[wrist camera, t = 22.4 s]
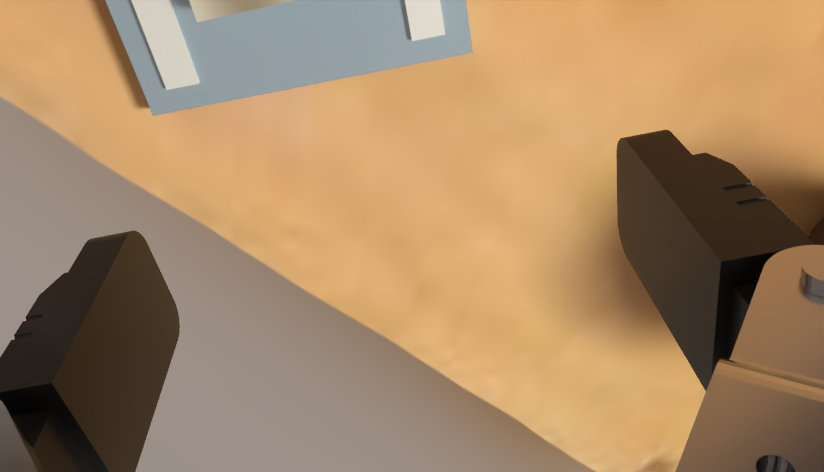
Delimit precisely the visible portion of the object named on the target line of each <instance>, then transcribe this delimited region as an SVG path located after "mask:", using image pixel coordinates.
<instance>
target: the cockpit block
mask: <svg viewBox="0 0 824 472" xmlns="http://www.w3.org/2000/svg"><path fill="white" fill-rule="evenodd" d="M289 1H294V0H189V2H190V4H191V7H192V10H193V13H194V15H195V18H196V21H197V22H201V21H206V20H210V19H215V18H219V17H223V16H228V15H232V14H236V13H241V12H245V11H250V10H254V9H258V8H263V7H267V6H272V5H276V4H280V3H285V2H289Z"/></svg>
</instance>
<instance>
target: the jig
mask: <svg viewBox="0 0 824 472" xmlns="http://www.w3.org/2000/svg"><path fill="white" fill-rule="evenodd" d="M105 1H106V3H107V6H108V8H109V10H110V13H111V15H112V18H113V20H114V23H115V25H116V27H117V30H118V32H119V35H120V37H121V39H122V42H123V44H124V47H125V49H126V51H127V54H128V56H129V59H130V61H131V64H132V66H133V68H134V71H135V73H136V76H137V78H138V80H139V83H140V85H141V88H142V90H143V93H144V95H145V97H146V100H147V102H148V105H149V107H150V109H151V112H152V114H153V116H155V115H160V114H165V113H170V112H175V111H180V110H185V109H190V108H195V107H200V106H205V105H210V104H215V103H220V102H225V101H230V100H236V99H241V98H246V97H251V96H256V95H261V94H266V93H271V92H276V91H281V90H286V89H291V88H296V87H301V86H306V85H311V84H316V83H321V82H326V81H332V80H337V79H342V78H347V77H352V76H357V75H362V74H367V73H372V72H377V71H382V70H387V69H392V68H397V67H402V66H407V65H412V64H417V63H422V62H428V61H433V60H438V59H443V58H448V57H453V56H458V55H463V54H468V53H473V50H472V43H471V35H470V28H469V20H468V12H467V5H466V0H294V1H289V2H285V3H280V4H276V5H272V6H267V7H263V8H258V9H254V10H250V11H245V12H241V13H236V14H232V15H228V16H223V17H219V18H215V19H210V20H206V21H201V22H197V21H196V18H195V15H194V13H193V10H192V7H191V4H190V2H189V0H105Z"/></svg>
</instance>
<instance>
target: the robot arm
mask: <svg viewBox="0 0 824 472" xmlns="http://www.w3.org/2000/svg"><path fill="white" fill-rule="evenodd" d="M617 209H618V228H619V234H620V239H621V243H622V246H623V249H624V251H625V254H626V256H627V258H628V259H629V261H630V263H631V265H632V266H633V268H634V270H635V271H636V273H637V275H638V277H639V278H640V280H641V282H642V283H643V285H644V287H645V288H646V290H647V292H648V294H649V295H650V297H651V299H652V300H653V302H654V304H655V305H656V307H657V309H658V311H659V312H660V314H661V316H662V317H663V319H664V321H665V322H666V324H667V326H668V328H669V329H670V331H671V333H672V334H673V336H674V338H675V339H676V341H677V343H678V345H679V346H680V348H681V350H682V351H683V353H684V355H685V356H686V358H687V360H688V362H689V363H690V365H691V367H692V368H693V370H694V372H695V373H696V375H697V377H698V379H699V380H700V382H701V384H702V385H703V387H704V389H705V390H706V393H705V396H704V399H703V401H702V404H701V407H700V409H699V412H698V414H697V417H696V420H695V422H694V425H693V427H692V430H691V433H690V435H689V438H688V441H687V443H686V446H685V448H684V451H683V454H682V456H681V459H680V461H679V464H678V467H677V469H676V472H824V245H815V244H814V243H813V242H812V241H811V240H810V239H809V238H808V237H807V236H806V235H805V234H804V233H803V232H802V231H801V230H800V229H799V228H798V227H797V226H796V225H795V224H793V223H792V222H791V221H790V220H789V219H788V218H787V217H786V216H785V215H784V214H783V213H782V212H781V211H780V210H779V209H778V208H777V207H776V206H775V205H774V204H773V203H772V202H771V201H770V200H768V201H767V200H766V196H765V195H764V194H763V193H762V192H761V191H760V190H759V189H758V188H757V187H756V186H752V184H751V181H750V180H749V179H748V178H747V177H746V176H745V175H743V174H742V173H741V172H740V171H739V170H738V169H737V168H736V167H735V166H734V165H733V164H730V163H728V162H726V161H723V160H721V159H719V158H717V157H714V156H712V155H710V154H707V153H702V154H696V155H692V154H691V153H690V152H689V151H688V150H687V149H686V148H685V147H684V146H683V145H682V143H681V142H680V141H679V140H678V139H677V138H676V137H675V136H674V135H673V134H672V133H671V132H670V131H669V130H662V131H657V132H651V133H646V134H641V135H636V136H630V137H625V138H621V139H620V140H619V142H618V145H617ZM179 328H180V327H179V316H178V311H177V307H176V304H175V302H174V299H173V297H172V295H171V293H170V291H169V289H168V287H167V284H166V282H165V280H164V278H163V276H162V274H161V272H160V270H159V267H158V265H157V263H156V261H155V259H154V257H153V255H152V253H151V251H150V249H149V246H148V244H147V242H146V240H145V239H144V237H143V236H142V235H141V234H140V233H139V232H137V231H129V232H124V233H119V234H114V235H108V236H104V237H98V238H93V239H89V240H88V241H87V242H86V243H85V245H84V247H83V248H82V250H81V252H80V253H79V255H78V257H77V259H76V260H75V262H74V264H73V265H72V267H71V269H70V270H69V272H68V273H64V274H63V275H62V276H60V277H59V278H58V279H57V280H56V281H55V282H54V283H53V284H51V286H49V287H48V288H47V289H46V290H45V291H44V292H43V293H41V294H40V295H39V297H38V298H37V300H36V302H35V303H34V305H33V306H32V308H31V310H30V311H29V313H28V315H27V316H26V321H24V322H22V324H21V326H20V327H19V329H18V330H17V332H16V333H15V335H14V336H15V340H11V341H10V343H9V345H8V346H7V348H6V350H5V351H4V353H3V354H2V356H1V357H0V472H135V471H136V468H137V464H138V461H139V458H140V455H141V452H142V449H143V446H144V443H145V440H146V436H147V434H148V431H149V427H150V424H151V421H152V418H153V415H154V412H155V409H156V406H157V403H158V400H159V397H160V393H161V390H162V387H163V384H164V381H165V378H166V374H167V372H168V368H169V366H170V362H171V359H172V356H173V353H174V350H175V347H176V344H177V341H178V337H179Z"/></svg>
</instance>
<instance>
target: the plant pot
mask: <svg viewBox="0 0 824 472" xmlns="http://www.w3.org/2000/svg"><path fill="white" fill-rule="evenodd" d="M809 239H810V240H811V241H812V242H813V243H814V244H815V245H824V220H823V221H822V222H821V223H820V224H819V225H818V226H817V227H816V228H815V230H814V231H813V232H812V234H811V236H810V237H809Z"/></svg>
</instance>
